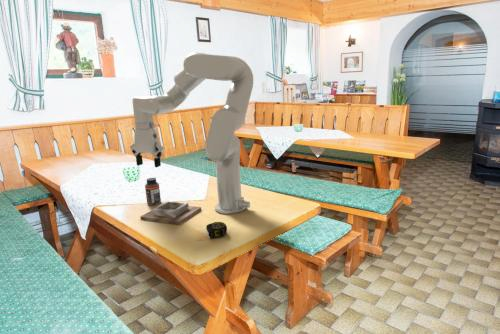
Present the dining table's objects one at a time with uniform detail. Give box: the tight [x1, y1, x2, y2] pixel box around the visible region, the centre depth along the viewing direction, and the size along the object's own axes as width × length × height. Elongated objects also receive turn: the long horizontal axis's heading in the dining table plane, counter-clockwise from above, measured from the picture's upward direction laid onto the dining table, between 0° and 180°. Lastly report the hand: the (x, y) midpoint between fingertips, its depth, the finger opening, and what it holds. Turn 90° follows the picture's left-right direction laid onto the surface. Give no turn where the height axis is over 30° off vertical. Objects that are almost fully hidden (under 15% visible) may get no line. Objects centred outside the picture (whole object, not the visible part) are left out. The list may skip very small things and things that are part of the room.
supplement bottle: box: [144, 177, 162, 206], centre depth 156 cm, size 6×6×11 cm
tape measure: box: [205, 221, 228, 239], centre depth 122 cm, size 7×7×4 cm
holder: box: [139, 200, 202, 226], centre depth 142 cm, size 18×16×4 cm
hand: (148, 165), depth 153 cm, fingers open, 9 cm apart
